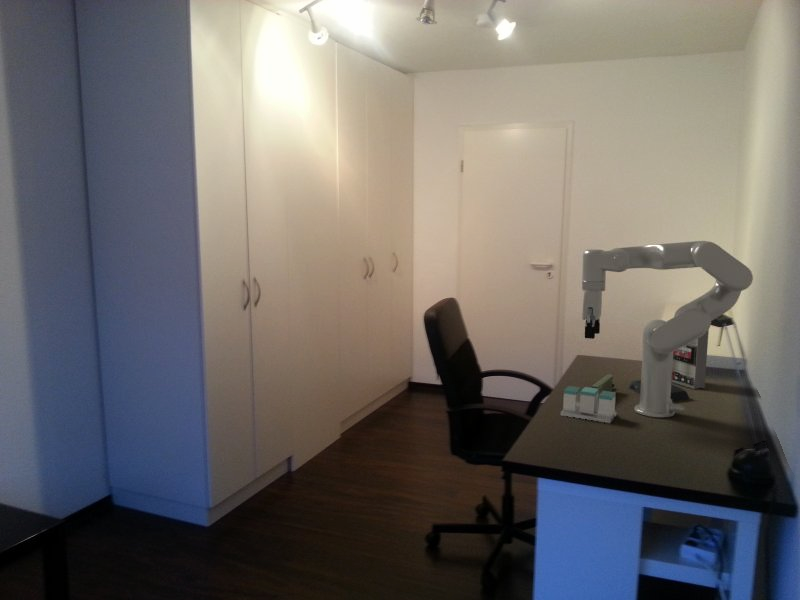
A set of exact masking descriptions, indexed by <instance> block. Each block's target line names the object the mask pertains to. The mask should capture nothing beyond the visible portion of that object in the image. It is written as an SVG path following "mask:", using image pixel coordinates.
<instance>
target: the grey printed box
mask: <svg viewBox="0 0 800 600" xmlns="http://www.w3.org/2000/svg"><path fill="white" fill-rule="evenodd" d="M709 331H710V330H708V331H707V332H706V333H705V334H704V335H703V336H701V337H700V338H698V339H696V340H694V341H693V342H691V343H689V344H687V345H685V346H683V347H681V348H679V349H678V350H676V351H673V369H672V381H671V383H672V384H676V385H681V386H684V387H687V388H690V389H692V390H696V389H704V388H706V374H707V373H706V371H707V359H708V348H709V347H708V344H709Z"/></svg>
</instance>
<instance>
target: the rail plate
mask: <svg viewBox="0 0 800 600" xmlns="http://www.w3.org/2000/svg"><path fill="white" fill-rule="evenodd" d="M581 390H582V388H581V387H579V386H574V385H568V386H567V387H566V388H565V389H563V402H562V403H563V405H562V410H561V411H560V416H561V417H567V416H568V418H573V417H575V418H574V419H579V418H581V419H580V420H585V419H587V420H586V421H591V420H593V421H592V422H597V421H598V422H599V423H604V422H605V424H611V423H612V421H613V420H614V419H615V418H614V417H616V416H617V411H616V410H615V408H616V407H615V406H616V395H617V393H616V392H615V391H611V392H609V391H602V392H601V393H600V395H599V402H598V410H597V411H596V412H595V413H594V414H589V413H583V412H580V392H581Z"/></svg>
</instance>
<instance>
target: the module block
mask: <svg viewBox="0 0 800 600" xmlns="http://www.w3.org/2000/svg"><path fill="white" fill-rule="evenodd" d="M598 395H599V389H596V388H591V387H588V386H584V387H583V388H581V390H580V412H583V413H589V414H594V413H595V412H596V411H597V410H598V407H599V402H598Z"/></svg>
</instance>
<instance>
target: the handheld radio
mask: <svg viewBox="0 0 800 600" xmlns="http://www.w3.org/2000/svg"><path fill="white" fill-rule="evenodd" d="M613 378H614V377H613V375H612V374H607V375H605V376H604V377H602V378H600V379H599V380H598V381H597V382H595V383H594V384H592V385H591V386H590V388H596V389H599V395H600V393H601V392H602V391H609V392H612V389H613V388H614V387H615V384H614V383H613ZM599 395H598V403H599Z"/></svg>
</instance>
